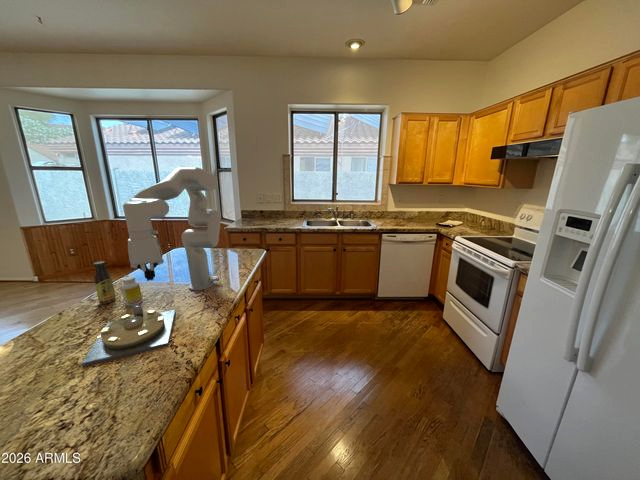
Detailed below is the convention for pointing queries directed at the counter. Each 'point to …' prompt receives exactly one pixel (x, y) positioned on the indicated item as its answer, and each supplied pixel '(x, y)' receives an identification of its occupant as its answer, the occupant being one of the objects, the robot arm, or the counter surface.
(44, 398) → the counter surface
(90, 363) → the cap plate
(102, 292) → the sauce bottle
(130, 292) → the supplement bottle
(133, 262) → the robot arm
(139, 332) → the notched gold disc
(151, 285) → the counter surface
